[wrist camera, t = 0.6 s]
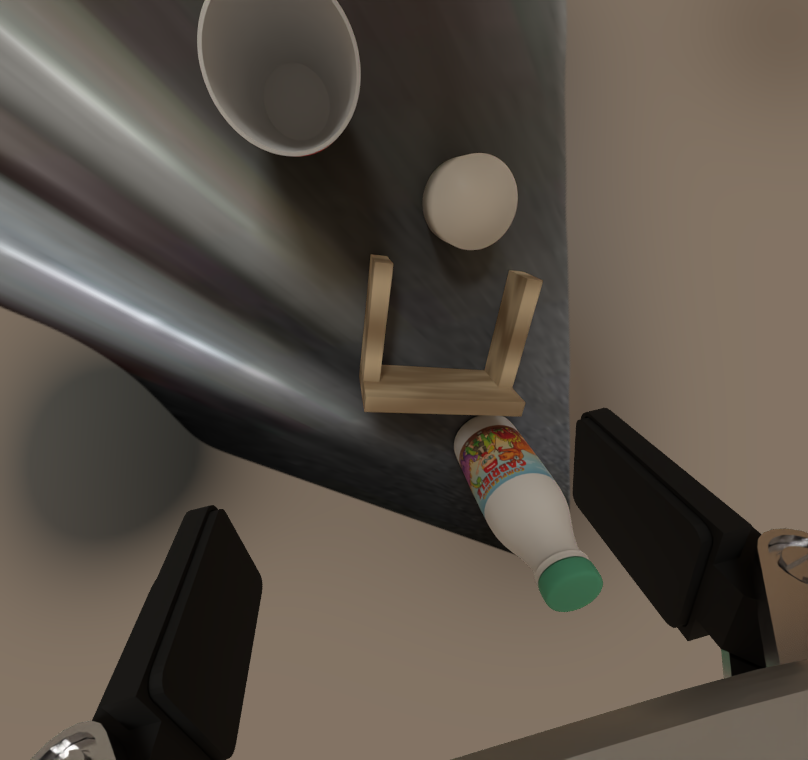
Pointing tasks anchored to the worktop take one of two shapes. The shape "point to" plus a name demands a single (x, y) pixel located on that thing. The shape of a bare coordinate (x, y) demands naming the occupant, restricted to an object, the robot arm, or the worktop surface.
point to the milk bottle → (526, 510)
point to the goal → (445, 385)
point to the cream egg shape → (470, 201)
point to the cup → (281, 70)
